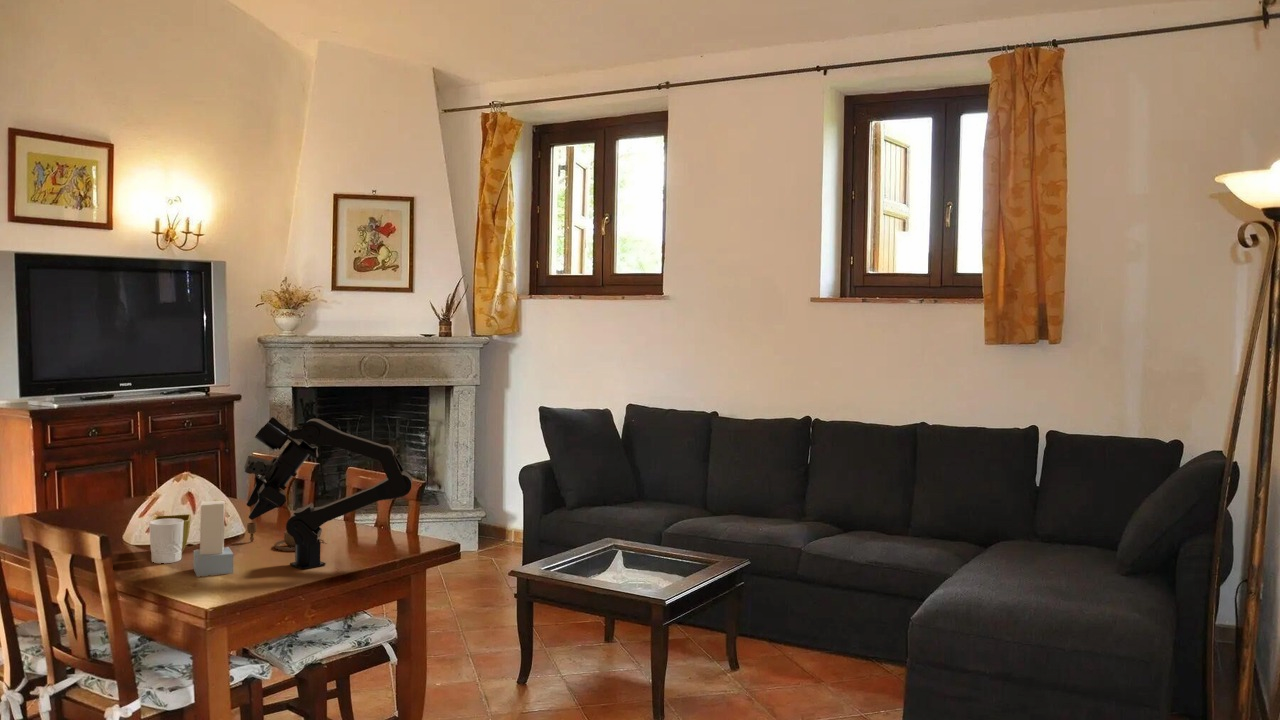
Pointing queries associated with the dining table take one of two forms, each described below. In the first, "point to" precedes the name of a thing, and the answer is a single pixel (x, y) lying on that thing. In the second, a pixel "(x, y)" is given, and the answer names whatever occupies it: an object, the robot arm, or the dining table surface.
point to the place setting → (287, 539)
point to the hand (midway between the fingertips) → (249, 512)
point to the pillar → (212, 527)
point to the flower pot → (185, 528)
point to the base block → (213, 563)
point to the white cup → (166, 540)
